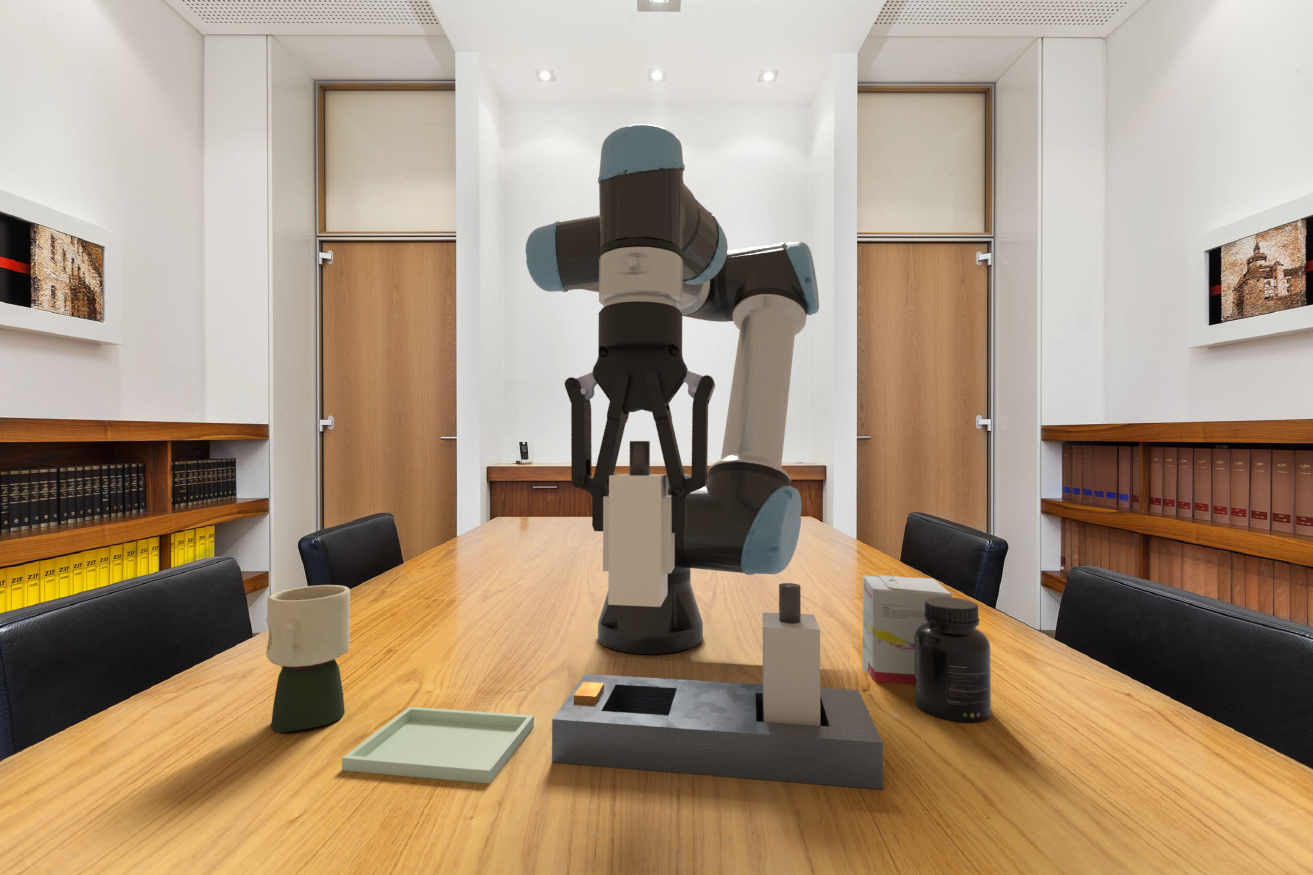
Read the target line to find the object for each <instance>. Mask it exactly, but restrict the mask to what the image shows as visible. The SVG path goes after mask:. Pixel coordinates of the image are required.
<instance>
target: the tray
mask: <svg viewBox="0 0 1313 875" xmlns="http://www.w3.org/2000/svg"><path fill="white" fill-rule="evenodd" d="M534 727H535V715H530V714H519V713H518V714H516V713H504V712H503V713H501V712H487V711H475V710H460V709H446V708H430V707H418V706H416V707H415V706H408V707H407V708H406V709H404V710H403V711H402V712H400V713H399V714H398V715H396V716H395V717H393V718H392V719H391V720H390V721H389V722H387V723H386V724H384V726H382V727H381V728H379V729H378V730H377V731H375V732H374V733H373V734H372V735H370V736H369V737H367V738H366V739H365V740H364V741H362V742H361V743H360V744H358V745H357V746H356V747H354V748H353V749H352V750H350V751H349V752H348V753H346V754H345V755H344V756H343V757H341V772H352V773H365V774H372V775H373V774H374V775H375V774H376V775H386V776H398V777H406V778H407V777H408V778H420V779H431V780H441V781H452V782H453V781H455V782H463V783H466V782H467V783H475V784H485V785H486V784H488V785H490V784H491V783H492V782H493V781H494V779H495V778H496V776H497V775H498V774H499V773H500V771H501V770H503V767H504V766H505V765H506V763H507V762H508V761H509V759H510V758H511V757H512V756H513V755H514V753H515V752H516V751H517V749H518V748H519V747H520V745H521V744H522V742H524V740H525V739H526V737H528V735H529V734H530V732H531V731H532V730H533V728H534Z"/></svg>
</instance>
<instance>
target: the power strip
mask: <svg viewBox="0 0 1313 875" xmlns="http://www.w3.org/2000/svg"><path fill="white" fill-rule="evenodd" d="M568 695H569V696H567V698H566V699H565V701H564V702H563V703H562V705H561V707H560V708H559V709H558V710H557V712H556V713H555V715H554V716H553V717H552V718H551V735H552V736H551V763H552V764H560V765H562V764H563V765H572V766H573V765H574V766H588V767H598V768H599V767H600V768H611V769H622V770H623V769H625V770H633V771H635V770H636V771H646V772H658V773H660V772H661V773H670V774H671V773H672V774H673V773H674V774H682V775H683V774H685V775H695V776H697V775H698V776H708V777H709V776H710V777H721V778H733V779H745V780H755V781H757V780H758V781H769V782H782V783H794V784H807V785H818V786H827V787H828V786H830V787H842V788H853V789H863V790H864V789H865V790H867V789H868V790H876V791H883V790H884V769H883V768H884V764H883V763H884V762H883V760H884V758H883V757H884V753H883V752H884V749H883V748H884V747H883V746H884V745H883V740H882V738H881V736H880V734H879V732H878V730H877V727H876V725H875V723H874V721H873V719H872V717H871V714H870V712H869V709H868V708H867V706H866V704H865V702H864V699H863V697H862V695H861V693H860V690H859V689H850V688H849V689H848V688H831V687H820V726H814V725H799V724H784V723H770V722H763V683H762V684H761V683H760V684H759V683H745V682H744V683H743V682H729V681H728V682H727V681H714V680H713V681H712V680H711V681H710V680H698V679H697V680H693V679H692V680H691V679H680V678H679V679H675V678H661V677H659V678H657V677H645V676H644V677H643V676H627V675H624V676H623V675H610V674H609V675H608V674H592V673H591V674H590V673H585V674H583V676H582V678H580V680H579V682H578V683H577V684H576V686H575V687H574V688H573V689H572V691H571V692H570V694H568Z"/></svg>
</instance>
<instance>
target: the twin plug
mask: <svg viewBox="0 0 1313 875" xmlns="http://www.w3.org/2000/svg"><path fill="white" fill-rule="evenodd" d="M801 601H802V600H801V585H800V584H798V583H791V582H786V583H785V582H784V583H779V584H778V609H779V610H778V612H764V611H763V612H762V684H763V722H770V723H784V724H799V725H814V726H820V688H821V629H820V626H819V624H818V621H817V619H816V616H815V614H812V613H811V614H810V613H801V608H802V607H801V606H802V605H801Z"/></svg>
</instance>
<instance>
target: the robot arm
mask: <svg viewBox="0 0 1313 875" xmlns="http://www.w3.org/2000/svg"><path fill="white" fill-rule="evenodd" d="M682 146H683V145H682V142H681V141H680V139H679V138H678V136H677V135H676V134H675V133H673V131H671V130H669V129H667V128H664V127H661V126H658V125H653V124H647V123H646V124H642V123H640V124H638V123H637V124H632V125H629V126H624V127H623V126H622V127H619V128H618V129H615V130H614V131H612V132H611V133H609V135H607V136H606V138H605V139H604V141H603V143H602V146H601V149H600V150H601V151H600V162H599V173H598V177H597V184H598V186H599V187H598V189H599V193H598V194H599V197H598V199H599V215H594V216H589V217H582V218H575V219H570V220H565V221H559V220H557V221H555V222H554V223H550V224H546V225H543V226H540V227H537V228H535V229H534V230H533V231H531V233H530V234H529V236H528V238H527V240H526V244H525V249H524V250H525V255H526V261H525V262H526V263H525V264H526V266H527V270H528V273H529V276H530V277H531V279H532V281H533V282H534V283H535V285H536V286H537V287H538V288H540V289H541V290H543V291H545V292H549V293H553V292H563V293H567V292H568V291H575V290H585V291H589V292H596V293H598V302H599V304H601V305H602V306H603V307H602V308H601V309H600V310H599V311H598V336H597V337H598V343H597V344H598V349H597V350H598V356H597V360H596V362H595V363H594V365H593V367H592V368H593V369H592V371H591V372H589V373H587V374H584V375H582V376H579V377H577V378H575V377H568V378H567V379H566V380H565V381H564V387H565V388H564V389H565V390H566V393H567V396H568V399H569V401H570V404H571V406H570V408H571V409H570V414H571V415H570V416H571V417H570V420H571V421H570V422H571V423H570V426H571V428H570V429H571V431H570V434H571V436H570V438H571V440H570V441H571V442H570V443H571V444H570V445H571V447H570V450H571V451H570V452H571V455H570V456H571V461H570V462H571V466H570V467H571V472H570V474H571V476H570V479H571V484H572V486H573V487H575V488H579V489H582V490H584V491H586V492H588V493H590V495H591V498H592V500H591V501H592V502H591V503H592V504H591V505H592V506H591V507H592V508H591V509H592V511H591V512H592V513H591V514H592V515H591V517H592V520H591V522H592V523H591V524H592V525H591V526H592V529H593V531H594V532H602V572H608V566H609V476H610V475H615V470H616V466H617V462H618V458H619V453H620V450H621V445H622V442H623V441H622V440H623V436H624V432H625V428H626V424H627V422H628V420H629V416H630V413H635V412H639V411H645V412H650V413H652V417H653V420H654V423H655V426H656V427H655V428H656V431H657V435H658V441H659V444H660V449H661V454H662V459H663V463H664V467H665V472H666V474H667V477H668V495H666V496H664V497H663V502H662V573H668V594H667V596H666V598H665V600H664V602H663V603H662V605H661V607H651V606H628V605H608V592H607V593H606V595H605V596H606V597H605V598H604V604H603V606H602V608H601V612H600V616H599V619H598V622H597V640H598V642H599V643H600V644H601V645H603V646H604V647H606V648H609V649H612V650H615V651H617V652H618V651H619V652H623V653H624V652H625V653H629V654H643V655H658V654H659V655H660V654H669V653H675V652H676V653H677V652H681V651H685V650H688V649H691V648H695V647H696V646H697V645H699V644H700V643H701V642H702V641H703V638H704V634H703V633H704V623H703V619H702V616H701V613H700V610H699V606H698V602H697V600H696V597H695V596H696V595H695V594H694V590H693V587H692V584H691V582H692V580H691V569H695V570H696V569H697V570H708V571H718V572H730V573H740V574H741V573H742V574H745V575H747V576H753V575H776V574H780V573H781V572H783V571H784V570H785V569H786V568H788V566H789V564H790V563H791V561H792V559H793V557H794V554H795V553H796V552H795V551H796V548H797V545H798V541H799V536H800V531H801V523H802V518H801V515H802V508H803V507H802V505H803V504H802V498H801V494H800V492H799V490H798V489H797V488H796V487H793V486H792V479H791V476H790V475H789V474H788V473H787V472H786V471H785V469H784V468H782V462H783V452H784V444H785V434H786V424H787V423H786V422H787V414H788V405H789V395H790V384H791V378H792V376H791V375H792V367H793V366H792V365H793V358H794V347H795V336H797V335H798V334H799V333H801V332H802V331H803V329H804V328H805V326H806V323H807V316H812V315H815V314H817V313H818V312H819V309H820V299H819V289H818V281H817V275H816V270H815V269H816V268H815V263H814V260H813V254H812V251H811V248H810V247H809V245H808V244H807V243H805V242H802V241H791V242H785V241H781V242H780V243H777V244H771V245H765V246H757V247H756V246H755V247H748V248H742V249H733V250H728V249H729V247H728V240H727V237H726V234H725V232H724V230H723V228H722V226H721V224H720V223H719V221H718V219H717V218H716V216H715V215H714V214H713V213H712V212H711V211H709V210H708V209H706V208H705V207H704V206H703V204H701V203H700V202H699V200H697V199H696V197H695V195H694V194H693V192H692V191H691V190H690V189H689V187H688V186H687V185H686V184H685V182H684V172H685V169H686V167H685V166H686V165H685V164H684V160H683V158H684V157H683V156H684V155H683V147H682ZM683 317H686V318H691V319H696V320H702V321H707V322H717V323H718V322H720V323H723V322H726V323H727V322H733V323H734V325H735V327H736V328H737V329H738V330H739V335H738V341H737V347H736V354H735V362H734V368H733V375H732V382H731V387H730V394H729V395H730V396H729V401H728V409H727V416H726V422H725V428H724V436H723V441H722V442H723V443H722V449H721V455H720V456H721V457H720V459H719V460H718V461H717V462H715V463H712V465H710V466H709V467H708V456H709V455H708V454H709V452H708V450H709V449H708V448H709V446H708V445H709V444H708V442H709V404H710V401H711V399H712V396H713V393H714V390H715V389H716V383H715V380H714V378H713V376H711V375H706V374H705V375H701V374H698V373H696V372H692V371H690V370H689V369H688V366H687V364H686V363H685V361H684V358H683ZM684 383H685V384H687V393H688V395H689V396H690V397H691V398H693V399H692V408H691V409H692V413H691V414H692V415H691V419H692V420H691V422H692V423H691V476H690V475H689V474H688V473H687V474H685V472H684V467H683V462H682V460H681V459H682V458H681V454H680V449H679V446H678V445H679V444H678V441H677V438H676V433H675V428H674V427H675V426H674V424H673V418H672V417H673V416H672V412H671V408H670V403H671V401H672V400H673V399H674V397H675V396H676V394H677V393H678V391H679V390H680V388H681V387H682V386H683V385H684ZM597 385H598V386H599V388H600V389H601V391H602V392H603V394H605V396H606V397H607V399H608V401H609V402H608V406H607V407H608V408H607V413H606V423H605V426H604V431H603V435H602V439H601V445H600V447H599V452H598V457H597V459H596V460H597V461H596V466H595V470H594V474H593V476H592V464H593V462H592V460H593V458H592V454H593V453H592V403H591V399H593V397H594V396H595V387H596V386H597Z"/></svg>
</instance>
